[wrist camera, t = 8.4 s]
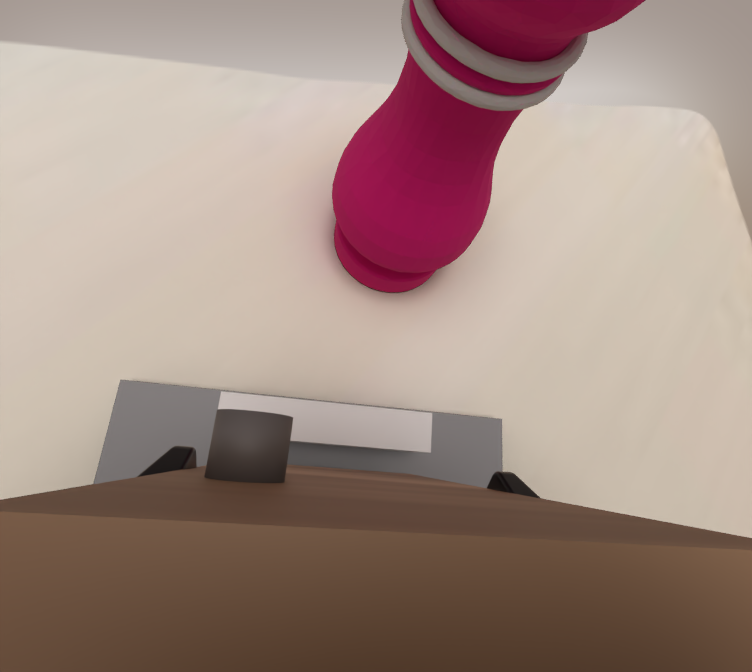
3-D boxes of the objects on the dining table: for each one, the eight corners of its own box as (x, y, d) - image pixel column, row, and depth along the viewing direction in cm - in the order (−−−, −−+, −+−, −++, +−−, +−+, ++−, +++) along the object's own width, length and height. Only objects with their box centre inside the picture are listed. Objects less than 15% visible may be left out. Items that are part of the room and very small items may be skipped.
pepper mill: (443, 193, 25) (919, -597, 6) (452, 305, 23) (1181, -342, 4) (325, 181, 24) (467, -904, 5) (324, 298, 22) (555, -725, 3)
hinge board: (493, 589, 19) (541, 623, 16) (79, 579, 16) (16, 617, 13) (492, 420, 22) (535, 414, 18) (128, 383, 19) (88, 366, 15)
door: (406, 545, 15) (931, 970, 3) (222, 536, 14) (-294, 1189, 2) (411, 447, 16) (811, 433, 4) (240, 431, 15) (6, 340, 3)
